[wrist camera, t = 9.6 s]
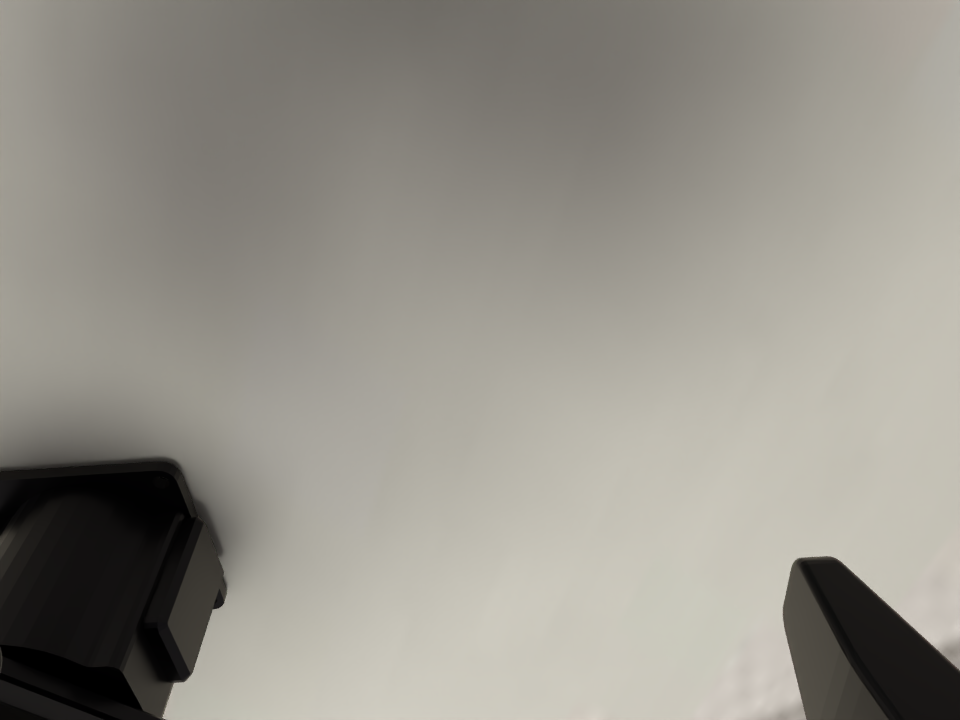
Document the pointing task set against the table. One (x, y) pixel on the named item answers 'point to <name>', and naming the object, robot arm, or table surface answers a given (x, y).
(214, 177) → the table surface
